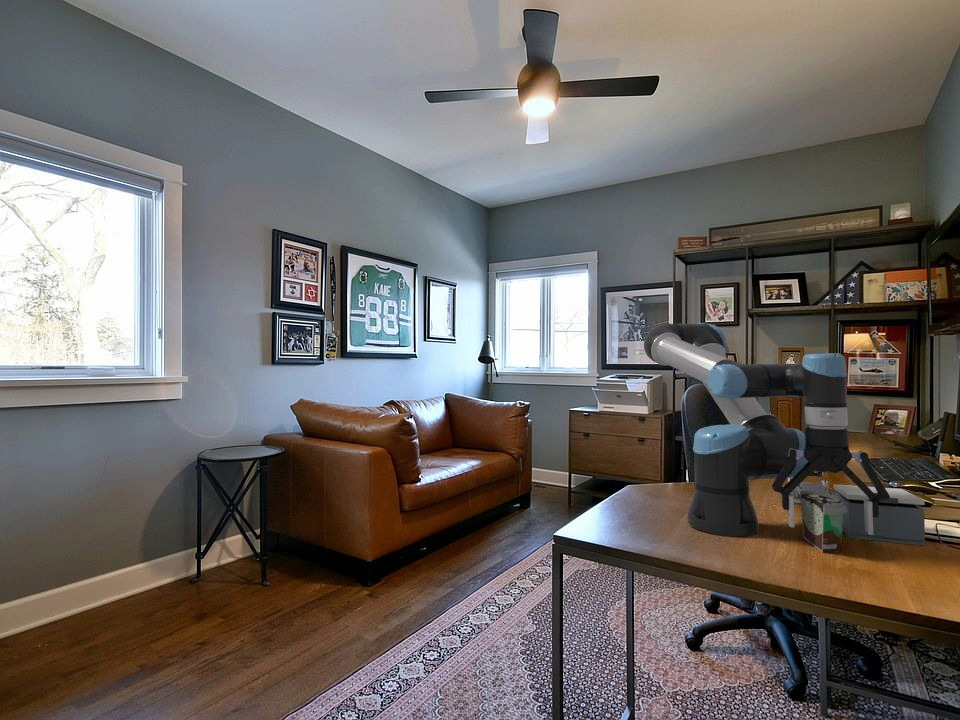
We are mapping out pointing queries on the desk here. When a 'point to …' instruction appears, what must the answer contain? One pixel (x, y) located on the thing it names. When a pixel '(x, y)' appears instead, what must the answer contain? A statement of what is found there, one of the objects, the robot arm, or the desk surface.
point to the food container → (822, 520)
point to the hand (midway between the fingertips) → (829, 529)
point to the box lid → (894, 493)
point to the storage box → (885, 522)
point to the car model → (809, 489)
